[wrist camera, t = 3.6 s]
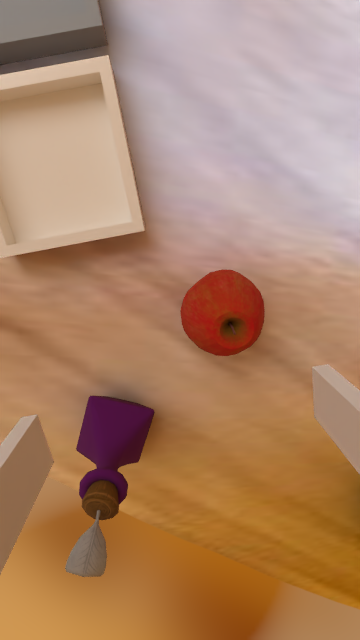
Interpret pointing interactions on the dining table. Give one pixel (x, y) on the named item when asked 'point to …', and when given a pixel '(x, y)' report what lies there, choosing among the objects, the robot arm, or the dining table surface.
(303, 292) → the dining table surface
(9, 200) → the beige square dish
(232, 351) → the apple
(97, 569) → the perfume bottle
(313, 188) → the dining table surface
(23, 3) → the grey square tray
